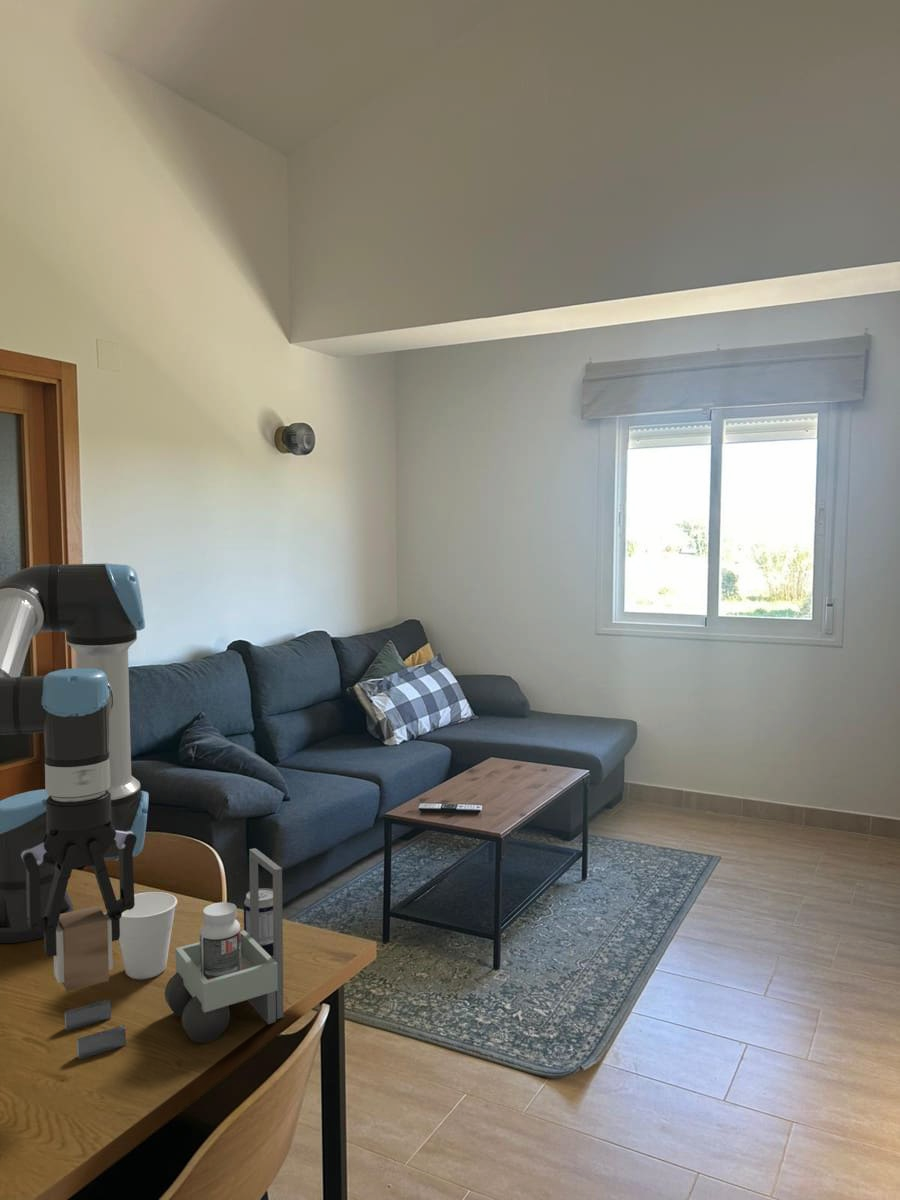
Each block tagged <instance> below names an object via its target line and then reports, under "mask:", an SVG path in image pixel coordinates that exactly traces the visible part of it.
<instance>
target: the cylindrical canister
mask: <svg viewBox="0 0 900 1200" xmlns="http://www.w3.org/2000/svg"><path fill="white" fill-rule="evenodd" d="M258 891H259V945H260V946H261V947H262V948H263V949H264V950H265V951H266V952H267V953H268V954H269V955H270V956H271V957H272V958H273V959H274V945H273V888H264V887H263V888H258ZM245 897H246V898H245V900H244V902H243V931H244V930H245V931H246V932H247V933H248V934H249V935H250V891H248V892H247V893H246V894H245Z"/></svg>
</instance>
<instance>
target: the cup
mask: <svg viewBox="0 0 900 1200" xmlns="http://www.w3.org/2000/svg"><path fill="white" fill-rule="evenodd" d="M177 904H178V898H177V897H176V896H174V895H173V894H171V893H167V892H161V891H148V892H141V893H134V907H133V908H132V909H131V910H126V911H124V912H123V913H122V916H121V918H120V937H119V940H118V941H119V947H120V950H121V951H120V952H121V957H122V961H123V965H124V971H125V974H126V975H127V976H128V977H129V978H131V979H133V980H147V979H151V978H155V977H157V976H159V975H161V974H162V973H163V972H164V971H165V969H166V968H167V964H168V956H169V949H170V943H171V936H172V929H173V923H174V919H175V917H174V916H175V911H176V906H177Z"/></svg>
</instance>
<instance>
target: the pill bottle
mask: <svg viewBox="0 0 900 1200" xmlns="http://www.w3.org/2000/svg"><path fill="white" fill-rule="evenodd" d="M237 911H238V909H237V905H236V904H234V903H232V902H227V901H225V902H224V901H223V902H215V903H212V904H209V905H207V906H206V907H204V908H203V911H202V918H203V919H202V920H203V921H204V923H203V924H202V925H201V926H200V928H199V942H200V971H201V972H202V974H203V975H204V976H205V977H206V979H207V980H209V979H213V978H216V977H220V976H223V975H227V974H230V973H234V972H237V971H241V931H242V930H241V924H240V922H239V921H238V920H237V919H236V917H237V915H238V914H237V913H238V912H237Z"/></svg>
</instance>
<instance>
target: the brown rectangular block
mask: <svg viewBox="0 0 900 1200" xmlns="http://www.w3.org/2000/svg"><path fill="white" fill-rule="evenodd" d="M103 913H104V912H103V910H102V909H101V907H100V906H99V905H95V906H90V907H85V908H81V909H77V910H73V911H71V912H67V913H62V914H60V917H59V921H58V923H59V924H60V926H61V928H62V930H63V943H64V978H65V982H62V983H61V984H62V985H63V987H64V989H65V992H66V993H68V992H71V991H75V990H79V989H80V990H81V989H83V988H87V987H91V986H94V985H98V984H102V983H105V982H109V981H110V980H109V979H110V973H109V972H110V970H109V963H108V923H107V918H106V917H105V915H104V914H103Z"/></svg>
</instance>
